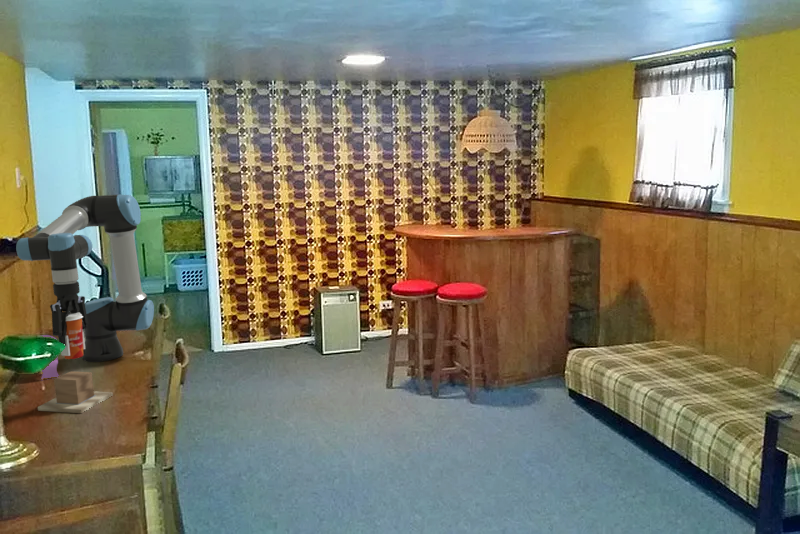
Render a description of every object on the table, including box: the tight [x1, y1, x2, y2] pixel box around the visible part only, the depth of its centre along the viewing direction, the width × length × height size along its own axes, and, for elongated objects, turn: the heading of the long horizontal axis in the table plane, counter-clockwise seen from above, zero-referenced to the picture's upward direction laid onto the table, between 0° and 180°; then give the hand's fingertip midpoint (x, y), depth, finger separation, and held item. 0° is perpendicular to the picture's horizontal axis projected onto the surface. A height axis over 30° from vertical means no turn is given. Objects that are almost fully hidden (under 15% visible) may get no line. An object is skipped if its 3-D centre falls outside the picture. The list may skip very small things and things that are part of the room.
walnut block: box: [53, 370, 95, 404], centre depth 237 cm, size 8×8×8 cm
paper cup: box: [63, 312, 83, 360], centre depth 234 cm, size 8×8×14 cm
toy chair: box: [40, 334, 60, 380], centre depth 266 cm, size 8×9×15 cm
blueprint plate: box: [37, 391, 114, 414], centre depth 237 cm, size 16×16×1 cm
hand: (73, 352), depth 235 cm, fingers closed on paper cup, 7 cm apart
